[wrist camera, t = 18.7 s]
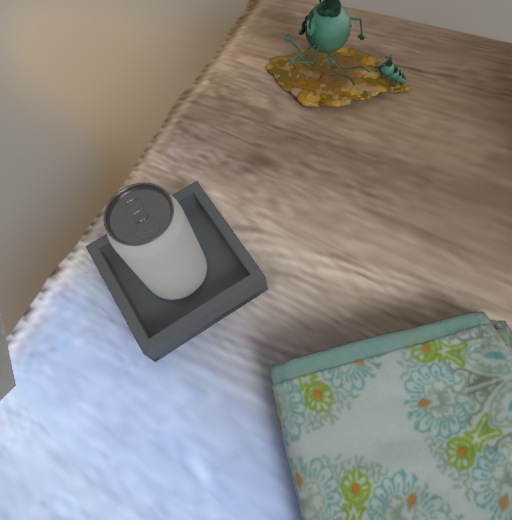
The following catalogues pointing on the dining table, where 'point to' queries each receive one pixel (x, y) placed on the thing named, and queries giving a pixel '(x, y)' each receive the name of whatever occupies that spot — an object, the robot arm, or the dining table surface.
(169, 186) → the dining table surface
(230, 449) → the dining table surface
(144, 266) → the can
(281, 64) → the frog figurine
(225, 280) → the tray
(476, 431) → the towel
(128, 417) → the dining table surface
